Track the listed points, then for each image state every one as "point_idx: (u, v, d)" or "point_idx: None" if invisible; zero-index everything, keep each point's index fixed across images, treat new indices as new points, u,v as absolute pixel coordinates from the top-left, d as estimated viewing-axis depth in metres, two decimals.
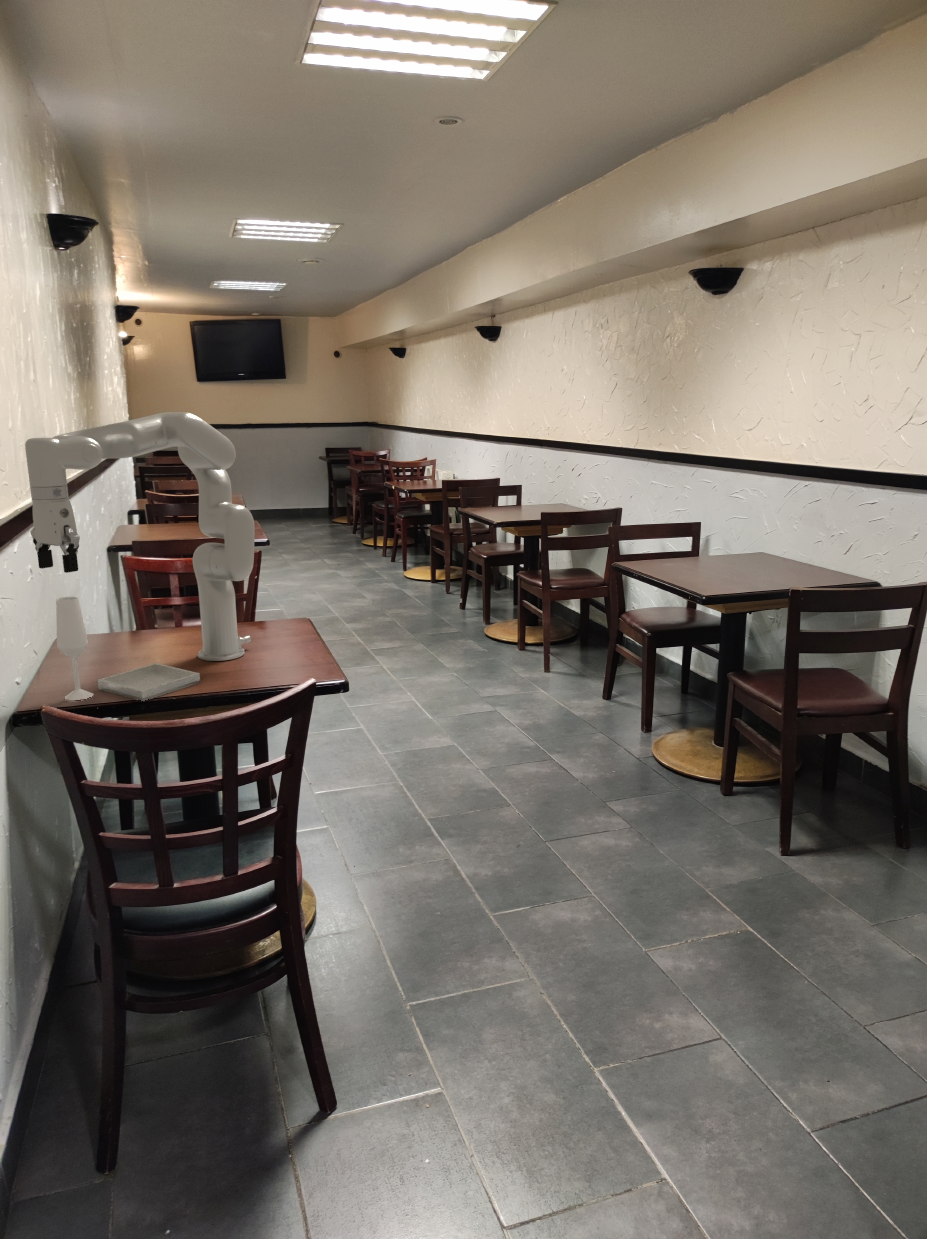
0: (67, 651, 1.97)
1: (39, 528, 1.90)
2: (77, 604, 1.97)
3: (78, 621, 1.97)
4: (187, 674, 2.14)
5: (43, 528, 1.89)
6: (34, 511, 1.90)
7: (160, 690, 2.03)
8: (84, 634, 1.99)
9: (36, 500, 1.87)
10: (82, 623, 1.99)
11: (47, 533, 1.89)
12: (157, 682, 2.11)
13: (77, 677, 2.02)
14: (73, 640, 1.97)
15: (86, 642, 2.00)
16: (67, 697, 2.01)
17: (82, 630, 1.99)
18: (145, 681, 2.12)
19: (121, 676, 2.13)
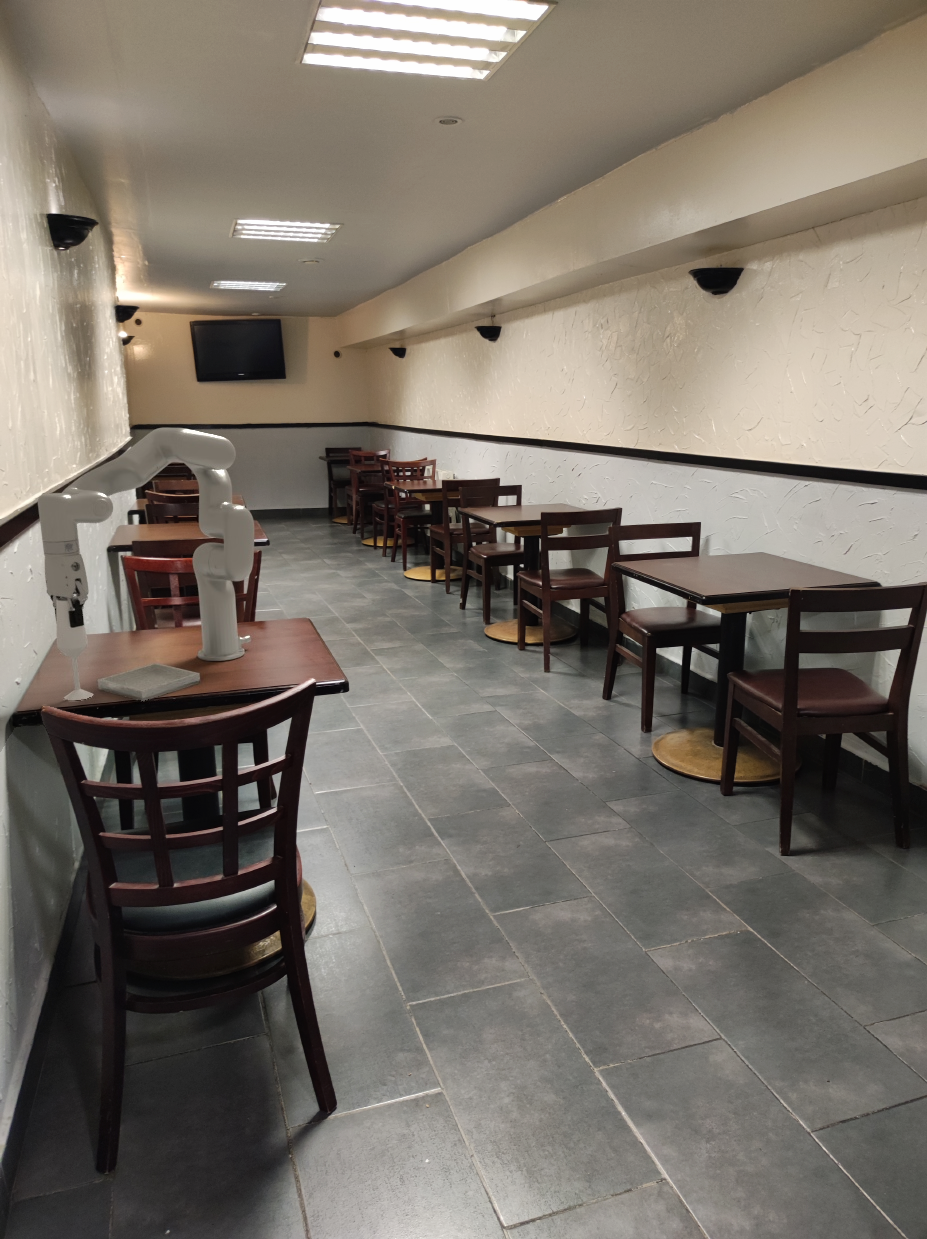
0: (67, 651, 1.97)
1: (51, 581, 1.95)
2: None
3: None
4: (187, 674, 2.14)
5: (55, 581, 1.94)
6: (46, 564, 1.95)
7: (160, 690, 2.03)
8: (84, 634, 1.99)
9: (48, 554, 1.92)
10: None
11: (59, 586, 1.94)
12: (157, 682, 2.11)
13: (77, 677, 2.02)
14: (73, 640, 1.97)
15: (86, 642, 2.00)
16: (67, 697, 2.01)
17: (82, 630, 1.99)
18: (145, 681, 2.12)
19: (121, 676, 2.13)
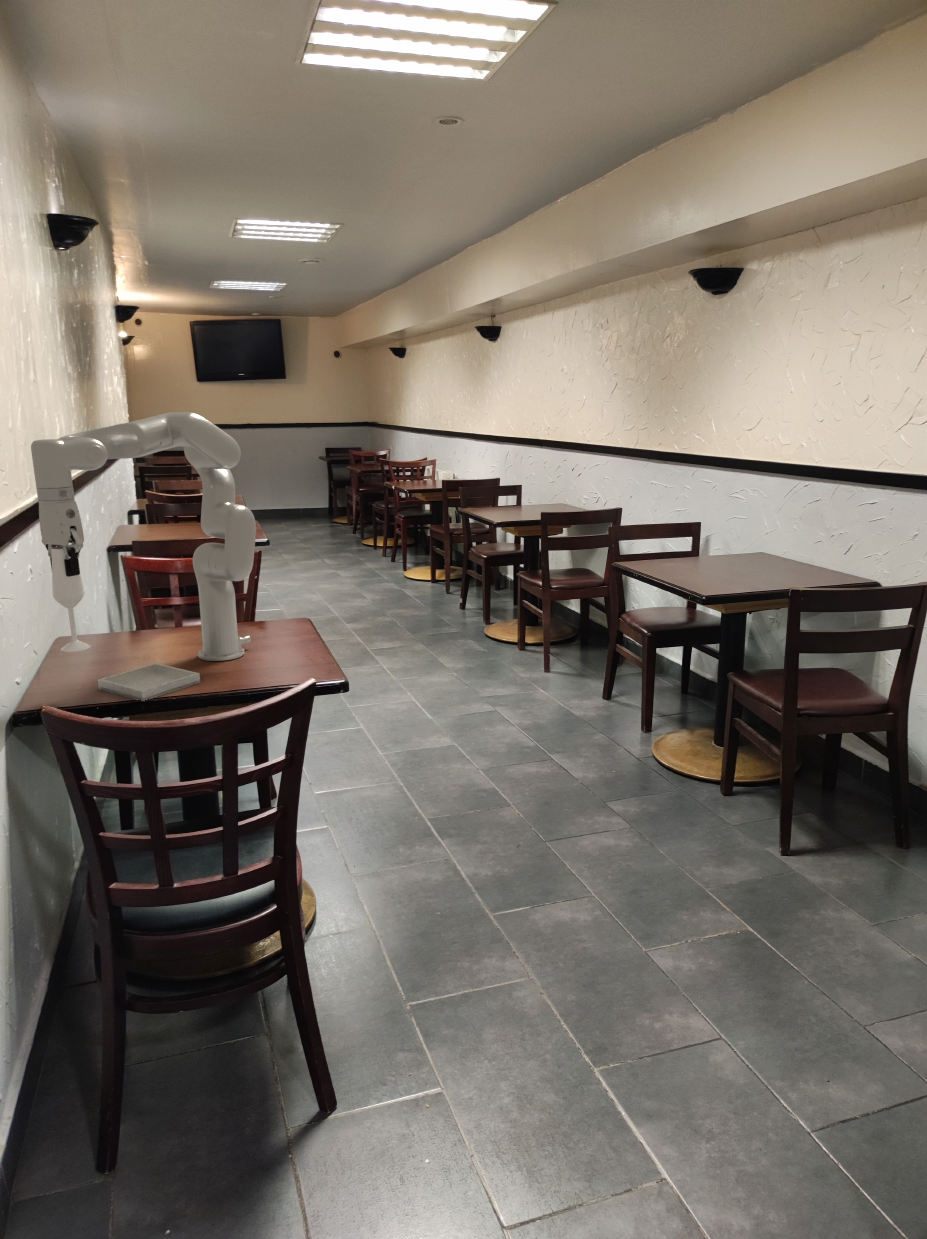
0: (63, 600, 1.95)
1: (46, 529, 1.93)
2: None
3: None
4: (187, 674, 2.14)
5: (50, 529, 1.92)
6: (41, 512, 1.92)
7: (160, 690, 2.03)
8: (80, 584, 1.97)
9: (42, 501, 1.89)
10: None
11: (54, 534, 1.91)
12: (157, 682, 2.11)
13: (74, 628, 1.99)
14: (69, 589, 1.94)
15: (82, 592, 1.97)
16: (64, 648, 1.99)
17: (78, 579, 1.96)
18: (145, 681, 2.12)
19: (121, 676, 2.13)
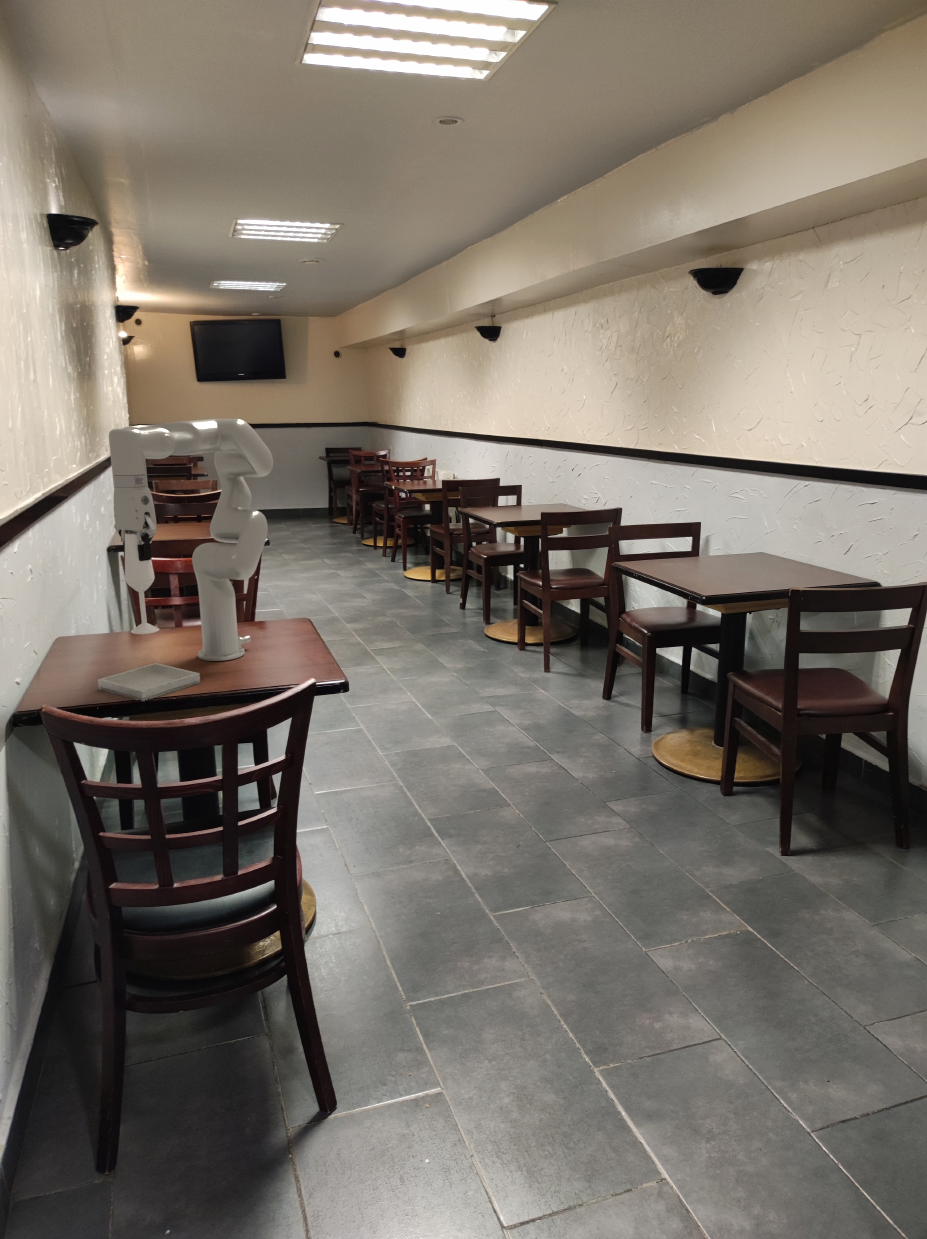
0: (135, 584, 2.02)
1: (121, 515, 2.00)
2: None
3: None
4: (187, 674, 2.14)
5: (124, 515, 1.99)
6: (116, 499, 2.00)
7: (160, 690, 2.03)
8: (151, 568, 2.04)
9: (119, 488, 1.96)
10: None
11: (128, 519, 1.99)
12: (157, 682, 2.11)
13: (144, 611, 2.06)
14: (141, 573, 2.01)
15: (153, 576, 2.04)
16: (134, 630, 2.06)
17: (149, 564, 2.03)
18: (145, 681, 2.12)
19: (121, 676, 2.13)
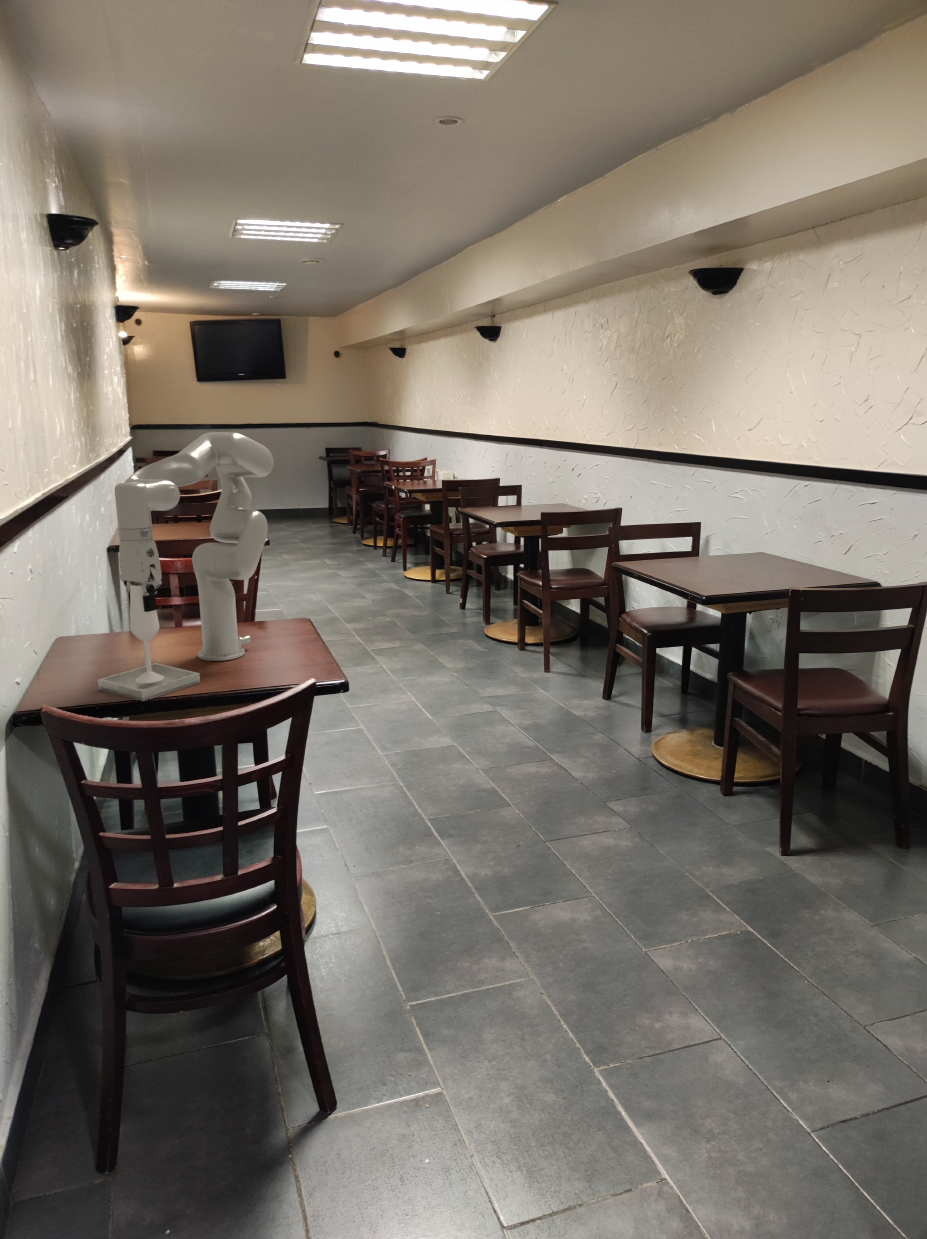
0: (141, 634, 2.05)
1: (126, 567, 2.03)
2: None
3: None
4: (187, 674, 2.14)
5: (130, 567, 2.02)
6: (121, 551, 2.03)
7: (160, 690, 2.03)
8: (156, 618, 2.07)
9: (124, 541, 1.99)
10: None
11: (134, 571, 2.02)
12: (157, 682, 2.11)
13: (149, 660, 2.09)
14: (146, 624, 2.04)
15: (158, 626, 2.07)
16: (139, 679, 2.09)
17: (154, 614, 2.06)
18: None
19: (121, 676, 2.13)
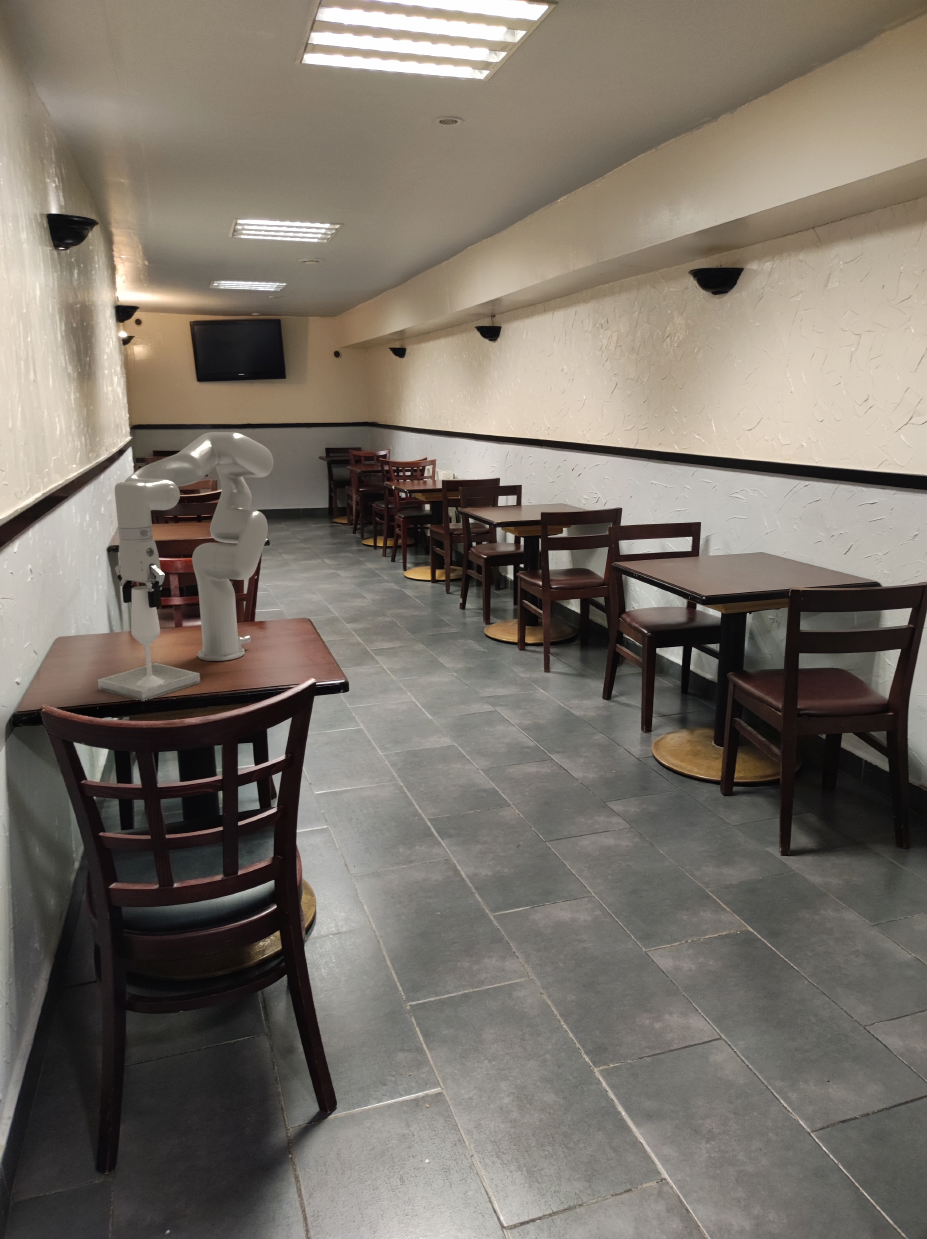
0: (141, 638, 2.05)
1: (126, 566, 2.03)
2: None
3: (152, 610, 2.05)
4: (187, 674, 2.14)
5: (129, 566, 2.02)
6: (121, 550, 2.02)
7: (160, 690, 2.03)
8: (157, 622, 2.07)
9: (124, 540, 1.99)
10: (155, 611, 2.07)
11: (133, 571, 2.01)
12: None
13: (149, 664, 2.09)
14: (147, 628, 2.05)
15: (159, 630, 2.08)
16: (140, 683, 2.09)
17: (156, 618, 2.06)
18: None
19: (121, 676, 2.13)
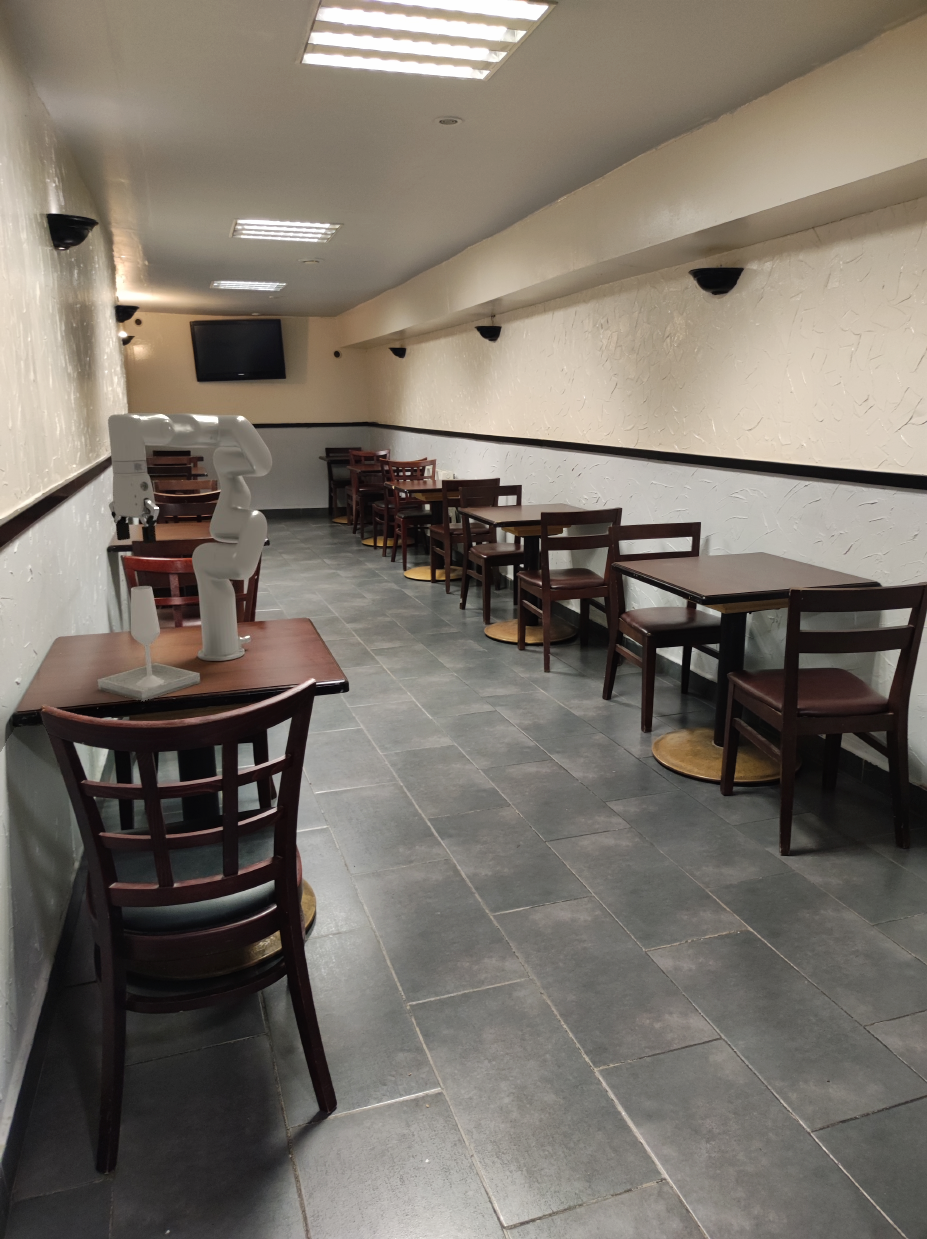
0: (141, 638, 2.05)
1: (120, 501, 1.99)
2: (151, 593, 2.05)
3: (151, 610, 2.05)
4: (187, 674, 2.14)
5: (123, 501, 1.98)
6: (115, 485, 1.99)
7: (160, 690, 2.03)
8: (157, 622, 2.07)
9: (118, 474, 1.95)
10: (155, 611, 2.07)
11: (127, 505, 1.98)
12: None
13: (149, 664, 2.09)
14: (147, 628, 2.05)
15: (158, 630, 2.08)
16: (140, 683, 2.09)
17: (155, 618, 2.06)
18: None
19: (121, 676, 2.13)
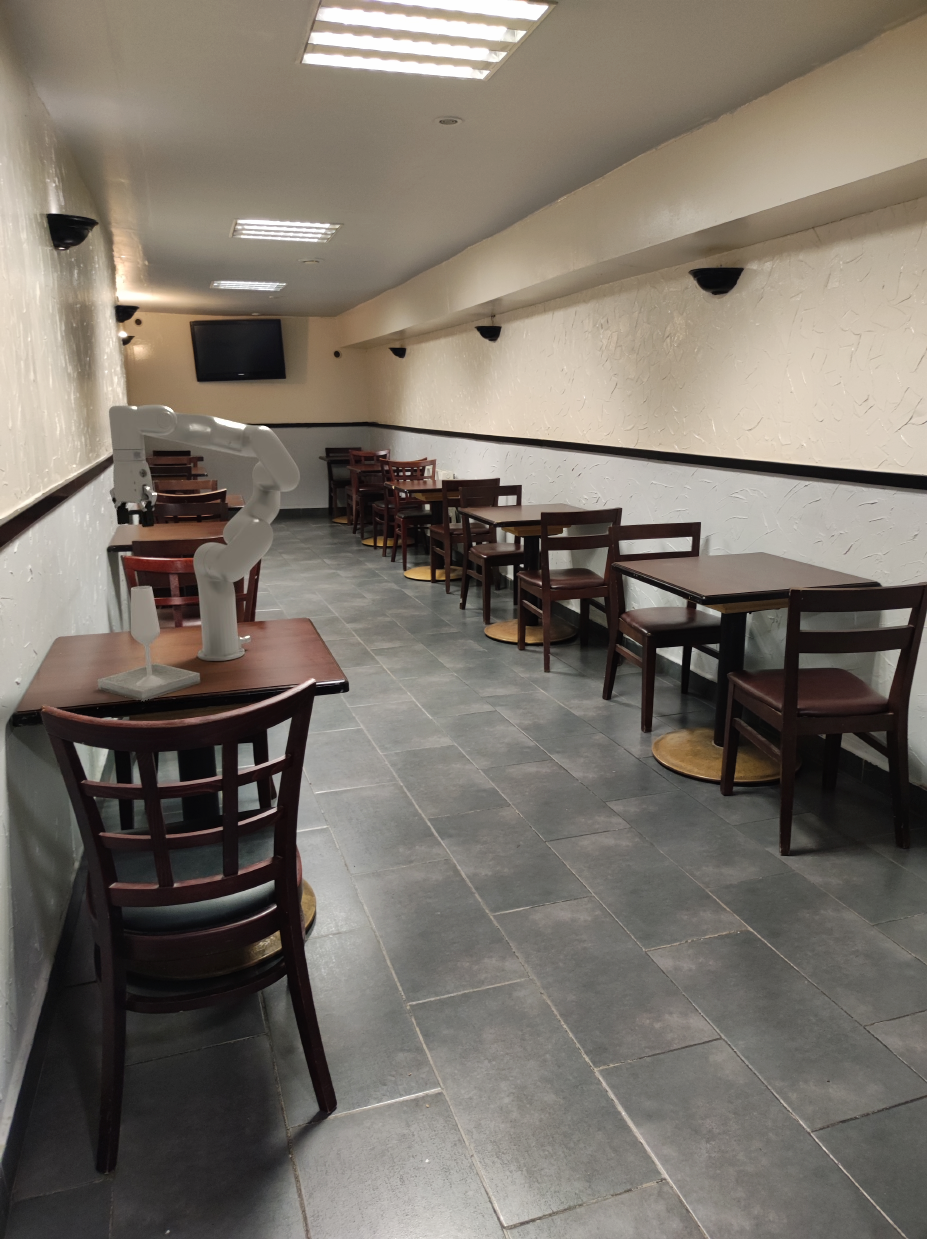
0: (141, 638, 2.05)
1: (120, 488, 2.12)
2: (151, 593, 2.05)
3: (151, 609, 2.05)
4: (187, 674, 2.14)
5: (123, 487, 2.11)
6: (115, 472, 2.11)
7: (160, 690, 2.03)
8: (157, 622, 2.07)
9: (118, 461, 2.08)
10: (155, 611, 2.07)
11: (127, 491, 2.10)
12: None
13: (149, 664, 2.09)
14: (147, 628, 2.05)
15: (158, 630, 2.08)
16: (140, 683, 2.09)
17: (155, 618, 2.06)
18: None
19: (121, 676, 2.13)
